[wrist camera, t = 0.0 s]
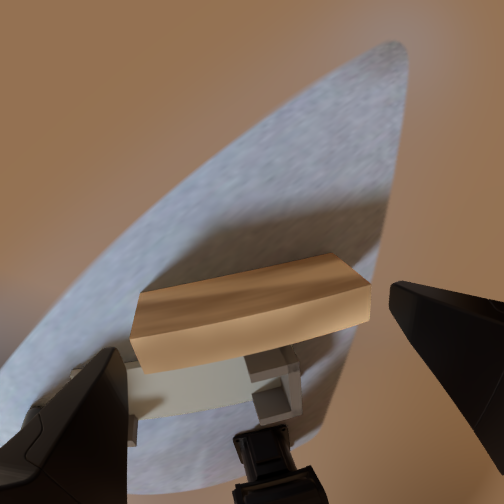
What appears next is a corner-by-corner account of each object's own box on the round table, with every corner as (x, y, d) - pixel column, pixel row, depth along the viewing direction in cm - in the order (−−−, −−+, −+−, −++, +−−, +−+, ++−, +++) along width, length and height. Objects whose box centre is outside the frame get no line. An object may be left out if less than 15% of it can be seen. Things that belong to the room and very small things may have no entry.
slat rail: (293, 382, 30) (307, 412, 26) (101, 416, 27) (95, 448, 23) (288, 329, 27) (305, 359, 23) (72, 369, 24) (60, 402, 20)
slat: (332, 283, 27) (369, 320, 21) (150, 323, 25) (144, 374, 19) (331, 252, 26) (371, 284, 20) (140, 292, 24) (129, 339, 18)
